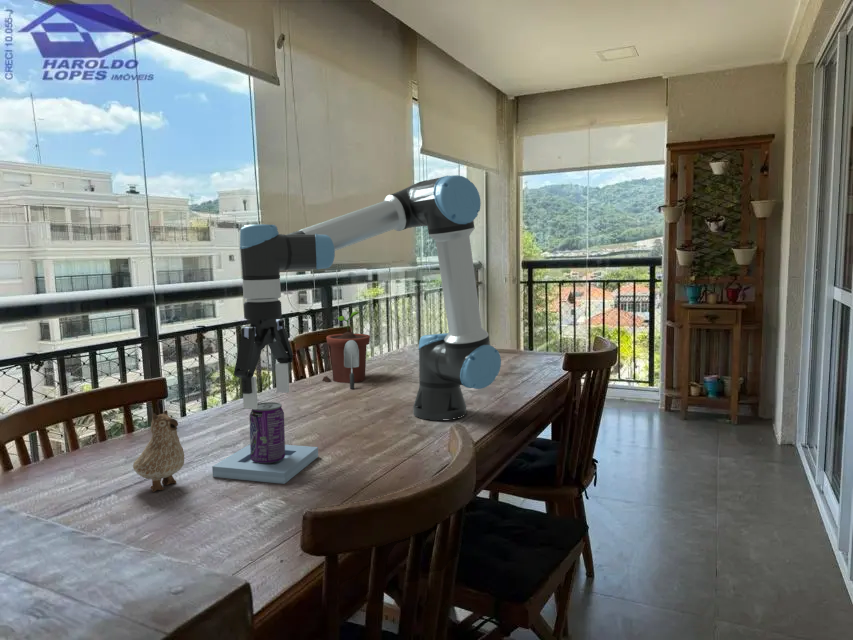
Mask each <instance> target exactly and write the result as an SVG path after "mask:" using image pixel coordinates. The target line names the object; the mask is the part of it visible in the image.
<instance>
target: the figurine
mask: <svg viewBox="0 0 853 640" xmlns="http://www.w3.org/2000/svg"><path fill="white" fill-rule="evenodd" d="M151 419H152V421H151V423H150V432H151V434H152V436H151V437H150V440H149V441H148V443H147V444H146V446H145V447H144V449H143V450H142V452H141V454H140V455H139V456H138V458H136V460H135V461H134V462H133V465H132V468H133V470H134V472H135V473H136V474H137V475H139V476H140V477H142V478H143V479H149V480H151V483H152V485H151V486H150V489H151V492H152V493H154V492H157V491H162V490H165V486H168V485H171V484H176V483H177V480H176V479H175V478H174V477H173V475H175V474H176V473H178V472H179V471H180V470H181V469H182V468H183V466H184V464H185V452H184V448H183V446H182V444H181V441H180V437H179V435H178V431H177V430H178V426H179V422H178V420H177V419H176V418H173V417H171V416H169V415H168V410H164V411H163V412H162V413H160V414H158V415H157V413H153V414H152V418H151ZM162 484H163V485H162ZM163 486H164V487H163Z"/></svg>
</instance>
